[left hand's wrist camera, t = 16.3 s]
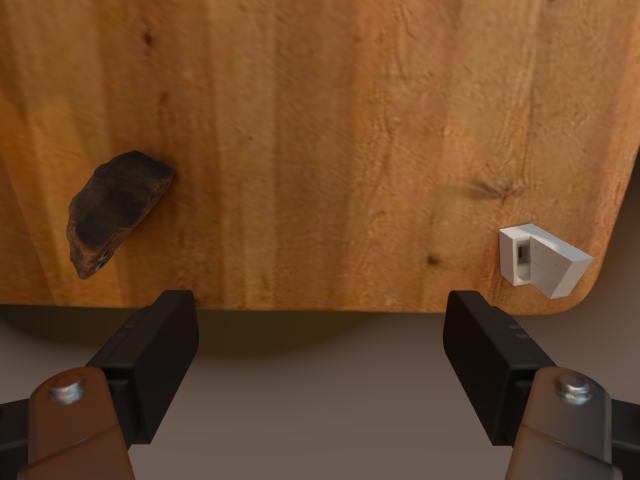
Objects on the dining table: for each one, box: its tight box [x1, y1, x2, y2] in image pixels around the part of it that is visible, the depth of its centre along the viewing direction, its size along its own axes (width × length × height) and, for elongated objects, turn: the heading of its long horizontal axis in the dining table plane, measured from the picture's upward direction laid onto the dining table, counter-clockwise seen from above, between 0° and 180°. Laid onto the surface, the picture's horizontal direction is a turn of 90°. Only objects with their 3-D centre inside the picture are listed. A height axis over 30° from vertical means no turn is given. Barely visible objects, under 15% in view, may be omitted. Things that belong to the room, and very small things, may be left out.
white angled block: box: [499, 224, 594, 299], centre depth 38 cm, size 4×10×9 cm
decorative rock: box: [66, 151, 174, 280], centre depth 35 cm, size 12×6×11 cm, turn 140°
